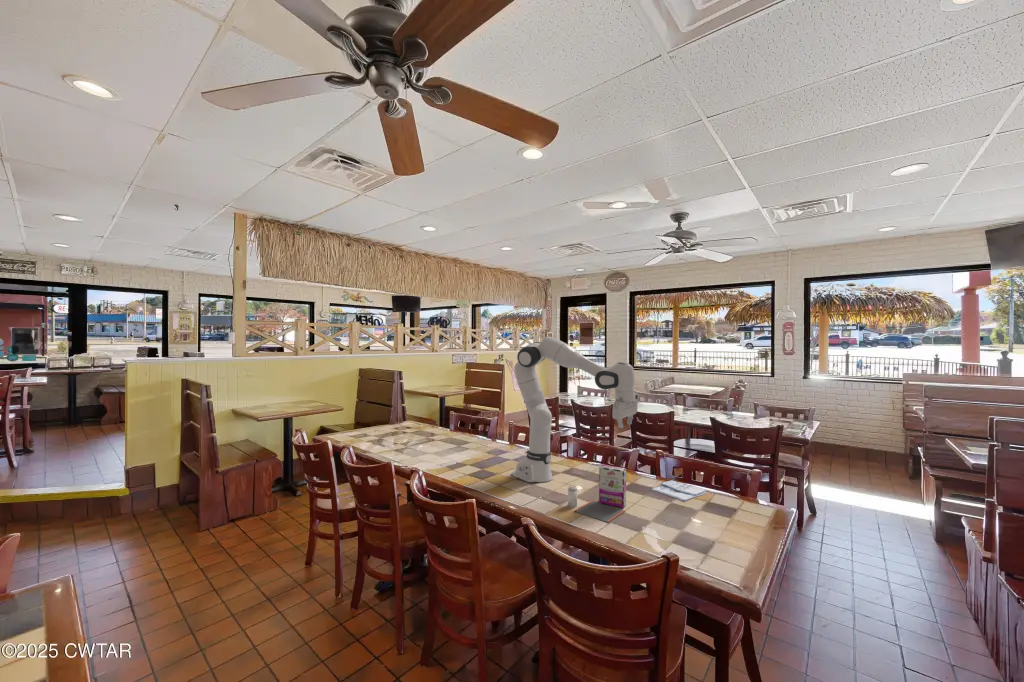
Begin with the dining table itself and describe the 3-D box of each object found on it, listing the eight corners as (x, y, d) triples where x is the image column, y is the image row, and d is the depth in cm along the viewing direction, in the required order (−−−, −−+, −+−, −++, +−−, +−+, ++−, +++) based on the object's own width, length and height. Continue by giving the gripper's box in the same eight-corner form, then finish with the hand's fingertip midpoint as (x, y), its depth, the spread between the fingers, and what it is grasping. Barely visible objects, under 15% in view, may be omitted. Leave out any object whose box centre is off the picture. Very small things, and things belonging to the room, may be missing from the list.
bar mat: (574, 511, 173) (574, 510, 173) (592, 501, 184) (592, 500, 184) (608, 523, 162) (608, 521, 162) (625, 511, 173) (625, 510, 173)
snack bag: (707, 494, 196) (707, 489, 196) (683, 503, 185) (683, 498, 185) (672, 482, 212) (672, 478, 212) (648, 490, 201) (648, 486, 201)
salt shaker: (565, 505, 178) (566, 488, 178) (570, 503, 181) (571, 485, 181) (573, 508, 176) (573, 490, 176) (578, 505, 179) (578, 488, 179)
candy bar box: (626, 504, 181) (626, 468, 181) (623, 508, 176) (624, 471, 176) (601, 499, 186) (602, 464, 186) (598, 503, 182) (599, 466, 182)
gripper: (621, 399, 182) (622, 430, 181) (639, 395, 197) (640, 423, 197) (608, 398, 186) (609, 428, 186) (627, 394, 201) (627, 421, 201)
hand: (625, 426), depth 192 cm, fingers open, 8 cm apart
